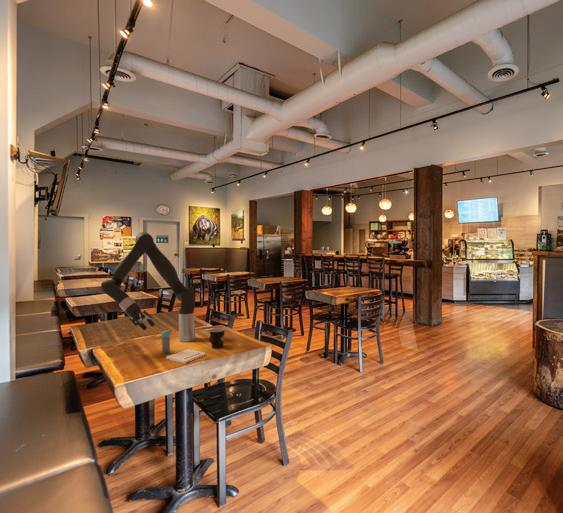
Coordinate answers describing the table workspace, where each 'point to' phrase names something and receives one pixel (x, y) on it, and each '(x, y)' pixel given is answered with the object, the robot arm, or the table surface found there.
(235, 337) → the table surface
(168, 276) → the robot arm
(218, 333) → the coffee mug
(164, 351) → the marker
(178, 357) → the notepad
